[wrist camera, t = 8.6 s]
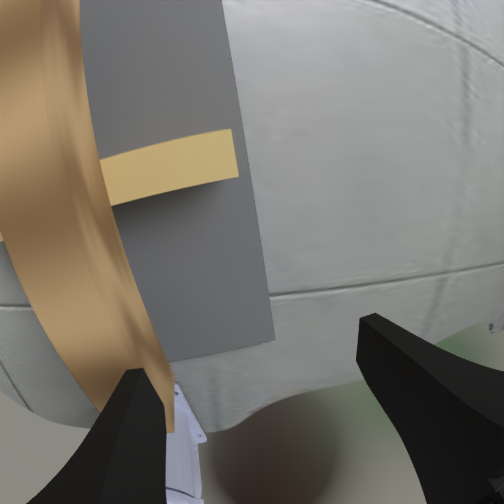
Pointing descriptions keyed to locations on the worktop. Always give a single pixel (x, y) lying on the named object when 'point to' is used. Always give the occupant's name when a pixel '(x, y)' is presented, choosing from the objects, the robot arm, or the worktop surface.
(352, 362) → the worktop surface
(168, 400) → the oak beam
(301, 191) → the worktop surface
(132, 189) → the ridge stand
